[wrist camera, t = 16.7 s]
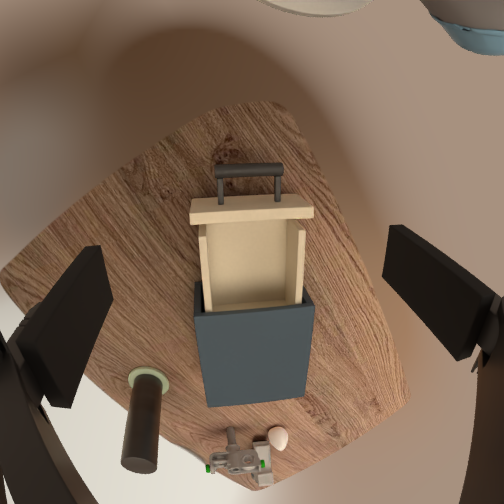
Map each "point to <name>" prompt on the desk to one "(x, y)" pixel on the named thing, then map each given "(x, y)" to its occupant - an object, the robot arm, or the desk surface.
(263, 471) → the toy gun
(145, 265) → the desk surface
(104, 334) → the desk surface
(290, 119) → the desk surface
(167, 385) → the coaster
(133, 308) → the desk surface
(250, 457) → the mechanical component
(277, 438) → the egg
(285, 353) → the cabinet
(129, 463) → the dark brown cylinder
